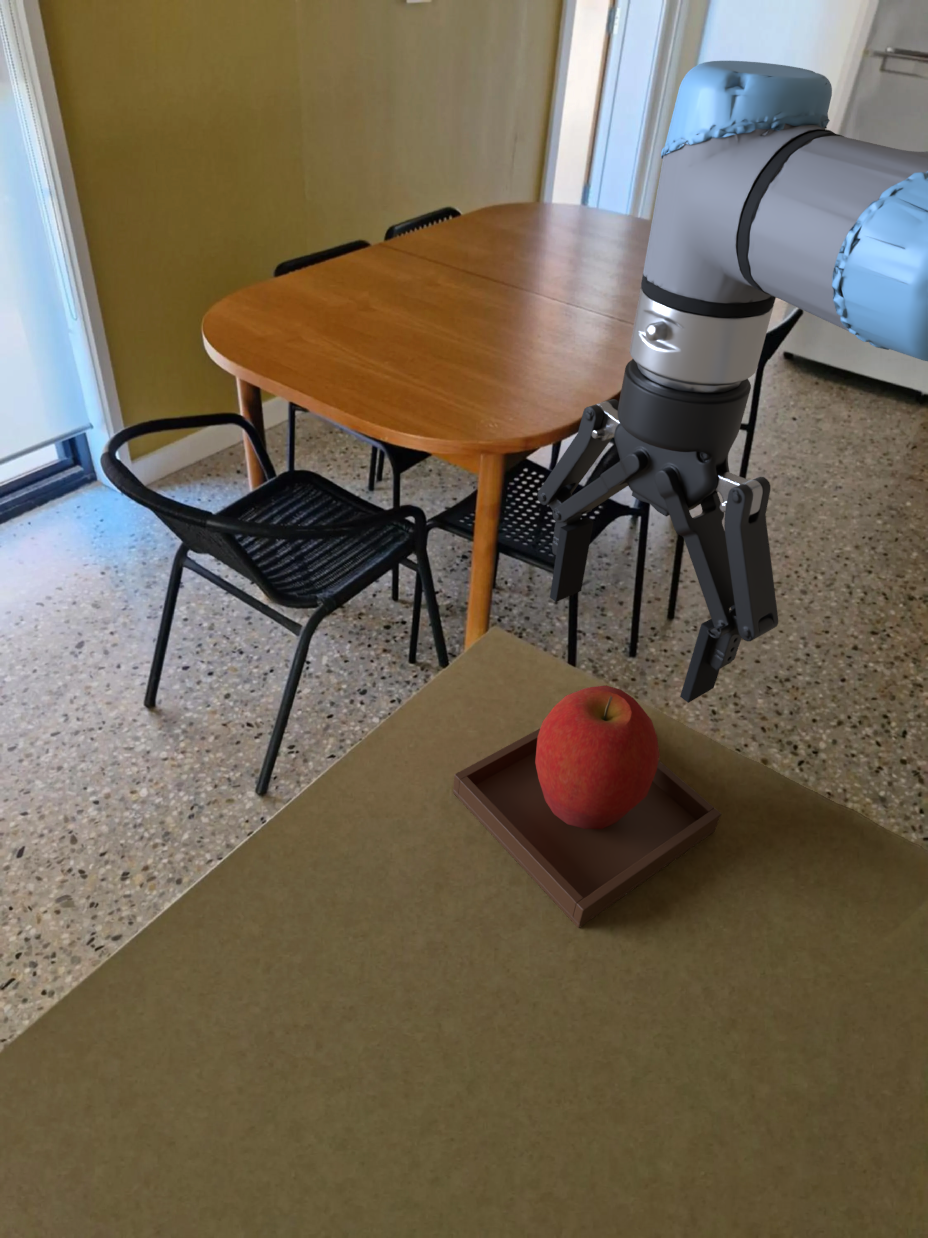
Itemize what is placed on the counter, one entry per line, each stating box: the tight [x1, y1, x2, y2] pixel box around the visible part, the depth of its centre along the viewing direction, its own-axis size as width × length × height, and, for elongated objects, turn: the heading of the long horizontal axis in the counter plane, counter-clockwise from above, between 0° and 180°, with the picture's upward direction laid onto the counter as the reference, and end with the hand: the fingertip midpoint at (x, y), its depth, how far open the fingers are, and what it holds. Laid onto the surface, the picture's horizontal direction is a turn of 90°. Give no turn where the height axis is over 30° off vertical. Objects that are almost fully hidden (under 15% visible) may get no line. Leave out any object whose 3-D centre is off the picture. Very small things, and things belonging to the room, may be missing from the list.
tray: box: [452, 728, 722, 929], centre depth 78 cm, size 17×17×2 cm
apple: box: [535, 684, 661, 829], centre depth 74 cm, size 10×10×14 cm
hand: (627, 640), depth 66 cm, fingers open, 13 cm apart
